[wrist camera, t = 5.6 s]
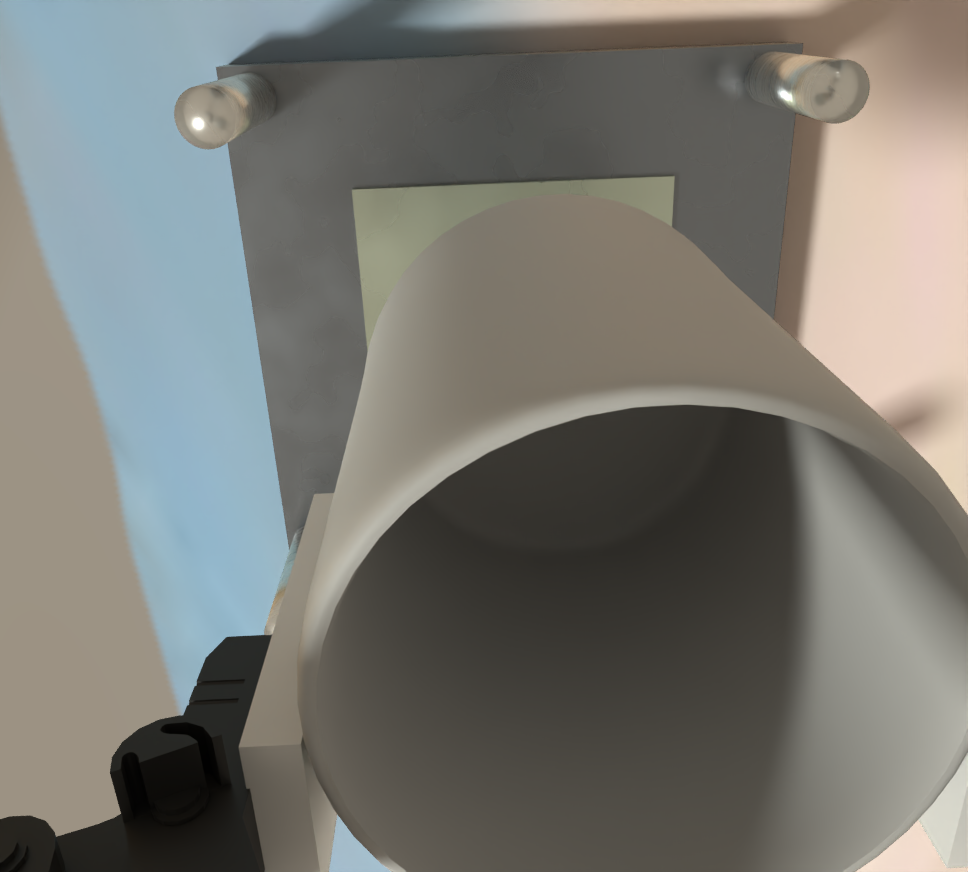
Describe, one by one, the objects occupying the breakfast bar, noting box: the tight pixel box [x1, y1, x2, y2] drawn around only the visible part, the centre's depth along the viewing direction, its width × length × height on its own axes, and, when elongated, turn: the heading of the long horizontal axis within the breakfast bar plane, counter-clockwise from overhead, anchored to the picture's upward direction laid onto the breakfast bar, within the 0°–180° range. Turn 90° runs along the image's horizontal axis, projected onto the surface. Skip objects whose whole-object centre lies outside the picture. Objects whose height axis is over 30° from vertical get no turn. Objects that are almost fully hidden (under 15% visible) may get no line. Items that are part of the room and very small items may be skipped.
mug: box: [297, 194, 968, 872], centre depth 16 cm, size 12×8×11 cm
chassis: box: [174, 42, 870, 635], centre depth 31 cm, size 19×19×8 cm
